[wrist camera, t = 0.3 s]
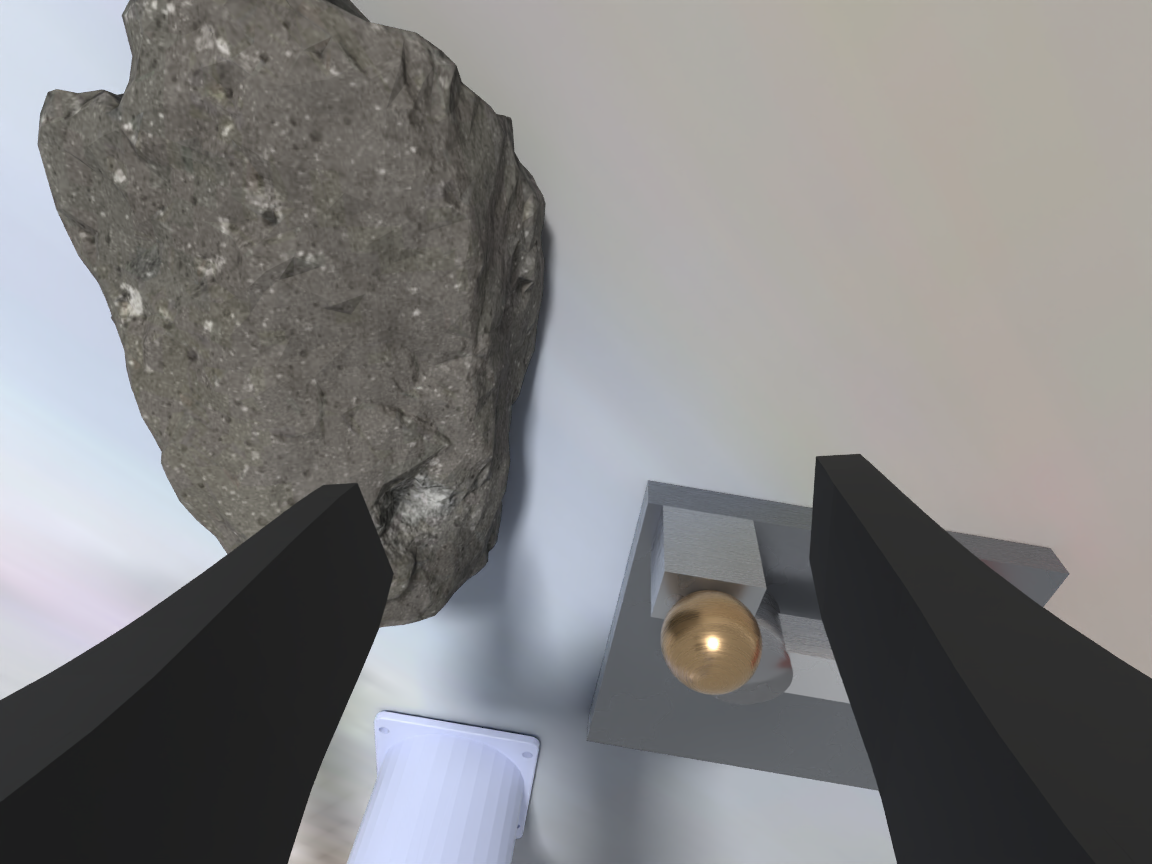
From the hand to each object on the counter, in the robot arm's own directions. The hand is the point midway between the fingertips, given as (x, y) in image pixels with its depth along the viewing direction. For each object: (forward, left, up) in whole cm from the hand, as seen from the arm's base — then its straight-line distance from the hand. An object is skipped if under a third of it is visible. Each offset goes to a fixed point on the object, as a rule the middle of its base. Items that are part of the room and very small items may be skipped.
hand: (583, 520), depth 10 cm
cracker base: (-14, -9, -10) cm, 19 cm away
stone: (-2, +6, -10) cm, 12 cm away
